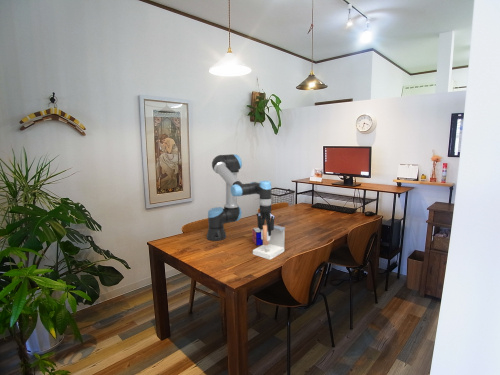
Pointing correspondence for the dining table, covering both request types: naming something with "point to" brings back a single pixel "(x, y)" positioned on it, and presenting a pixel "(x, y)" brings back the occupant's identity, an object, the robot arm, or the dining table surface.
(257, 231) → the puzzle cube
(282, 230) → the socket board
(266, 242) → the peg
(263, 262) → the dining table surface
